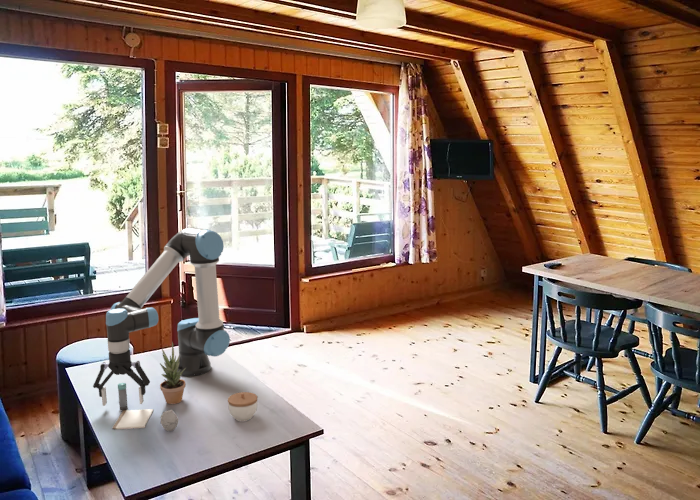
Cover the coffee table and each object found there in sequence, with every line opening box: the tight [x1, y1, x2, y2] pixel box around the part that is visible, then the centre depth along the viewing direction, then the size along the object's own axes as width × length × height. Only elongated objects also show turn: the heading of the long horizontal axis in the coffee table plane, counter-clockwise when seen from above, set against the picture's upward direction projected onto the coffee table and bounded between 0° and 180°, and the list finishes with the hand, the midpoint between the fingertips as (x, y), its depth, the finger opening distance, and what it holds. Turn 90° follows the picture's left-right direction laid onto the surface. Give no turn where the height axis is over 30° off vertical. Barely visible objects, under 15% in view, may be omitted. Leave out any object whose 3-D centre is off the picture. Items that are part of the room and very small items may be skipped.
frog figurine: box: [160, 409, 179, 432], centre depth 208 cm, size 6×7×7 cm
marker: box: [117, 382, 129, 412], centre depth 224 cm, size 3×3×10 cm
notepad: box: [111, 408, 154, 430], centre depth 216 cm, size 11×14×1 cm
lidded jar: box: [227, 391, 258, 422], centre depth 217 cm, size 11×11×9 cm
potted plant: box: [159, 341, 186, 405], centre depth 230 cm, size 10×10×25 cm
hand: (123, 403), depth 225 cm, fingers open, 13 cm apart
